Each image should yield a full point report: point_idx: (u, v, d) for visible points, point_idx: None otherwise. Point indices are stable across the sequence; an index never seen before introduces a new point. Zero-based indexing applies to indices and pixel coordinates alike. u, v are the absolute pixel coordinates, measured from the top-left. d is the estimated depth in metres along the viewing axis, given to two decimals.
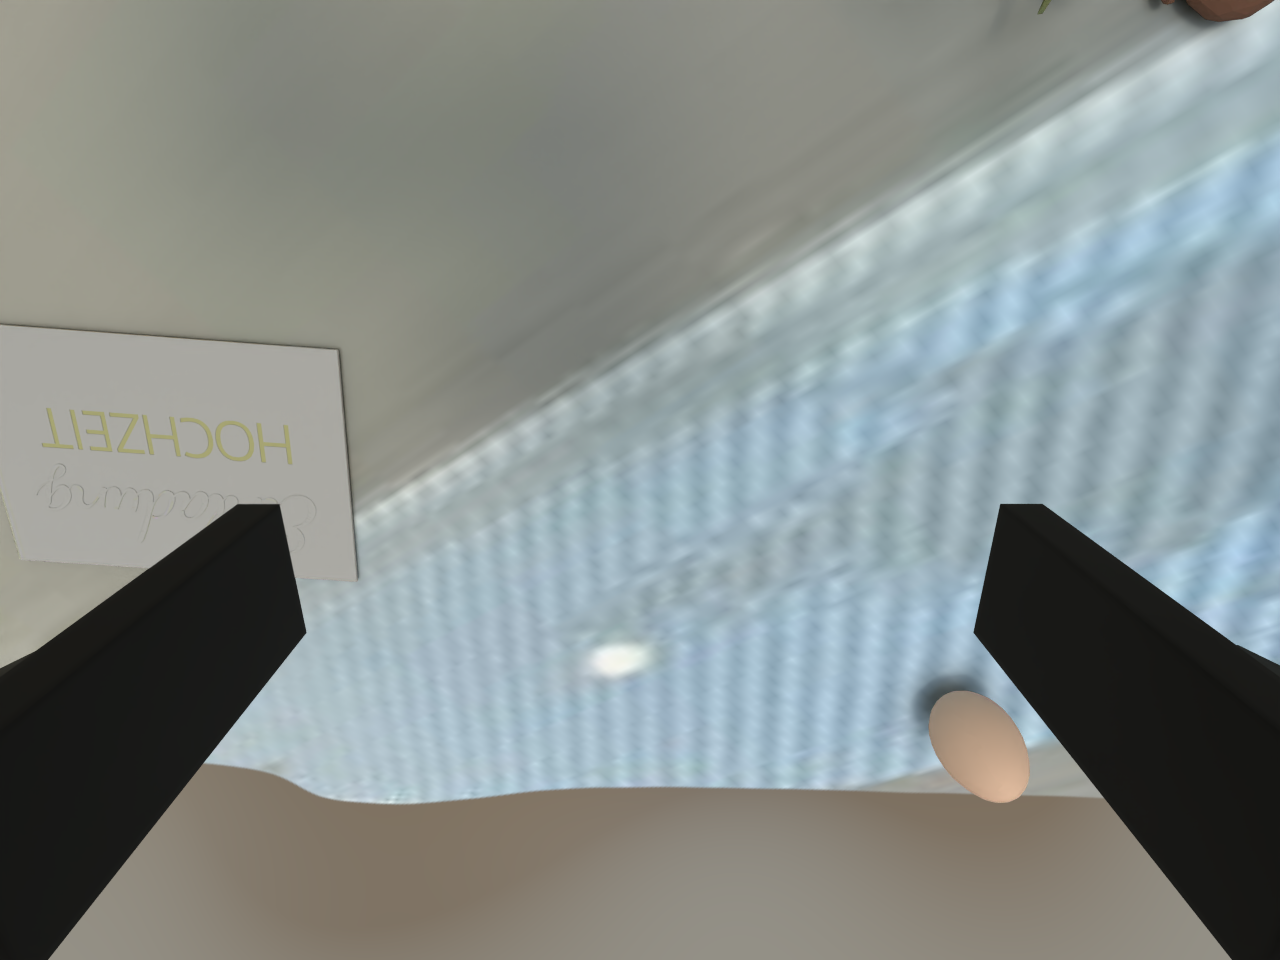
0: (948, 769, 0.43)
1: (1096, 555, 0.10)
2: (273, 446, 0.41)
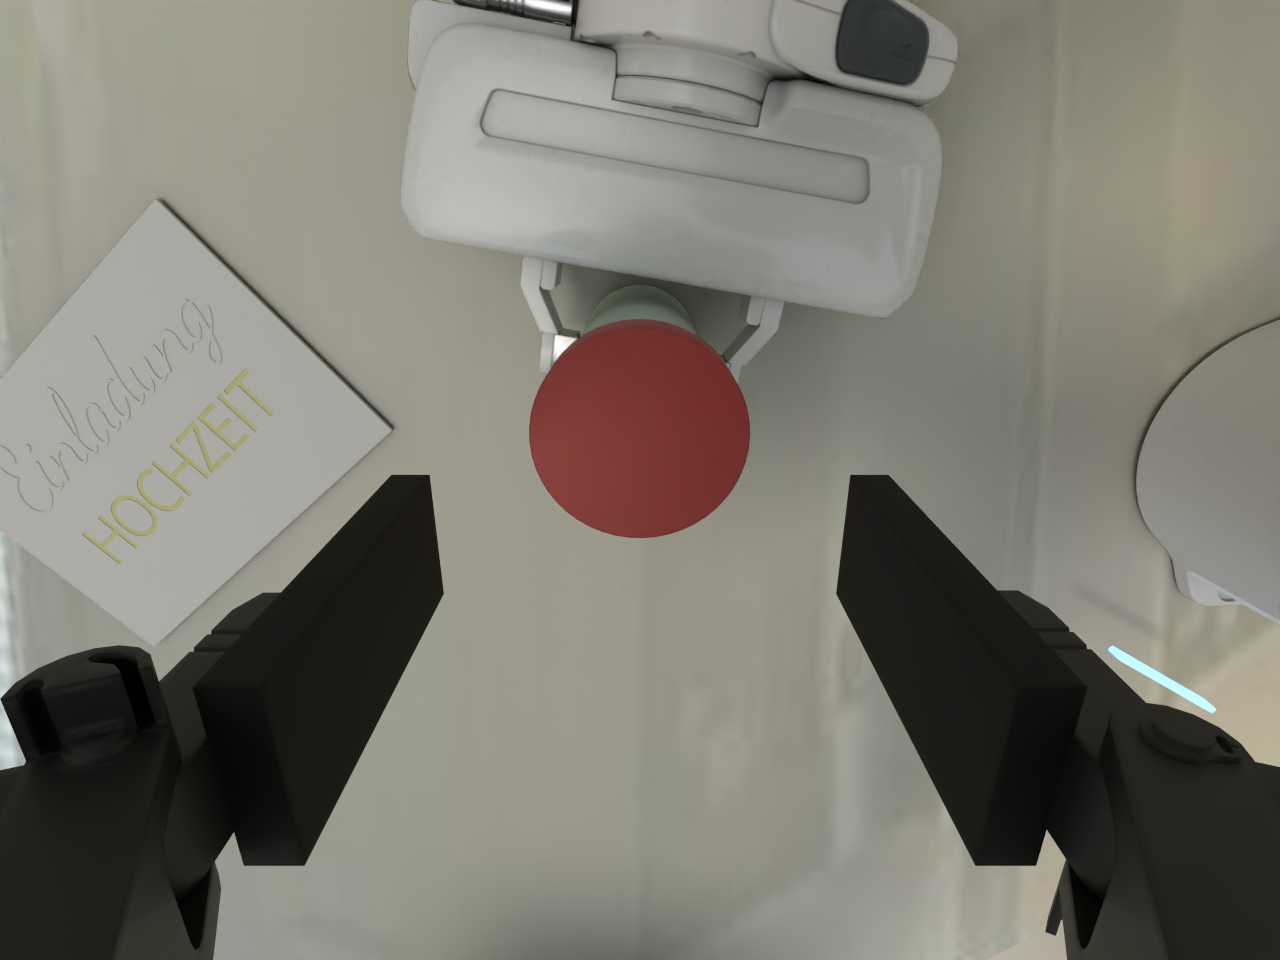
0: None
1: (911, 515, 0.12)
2: (109, 536, 0.39)
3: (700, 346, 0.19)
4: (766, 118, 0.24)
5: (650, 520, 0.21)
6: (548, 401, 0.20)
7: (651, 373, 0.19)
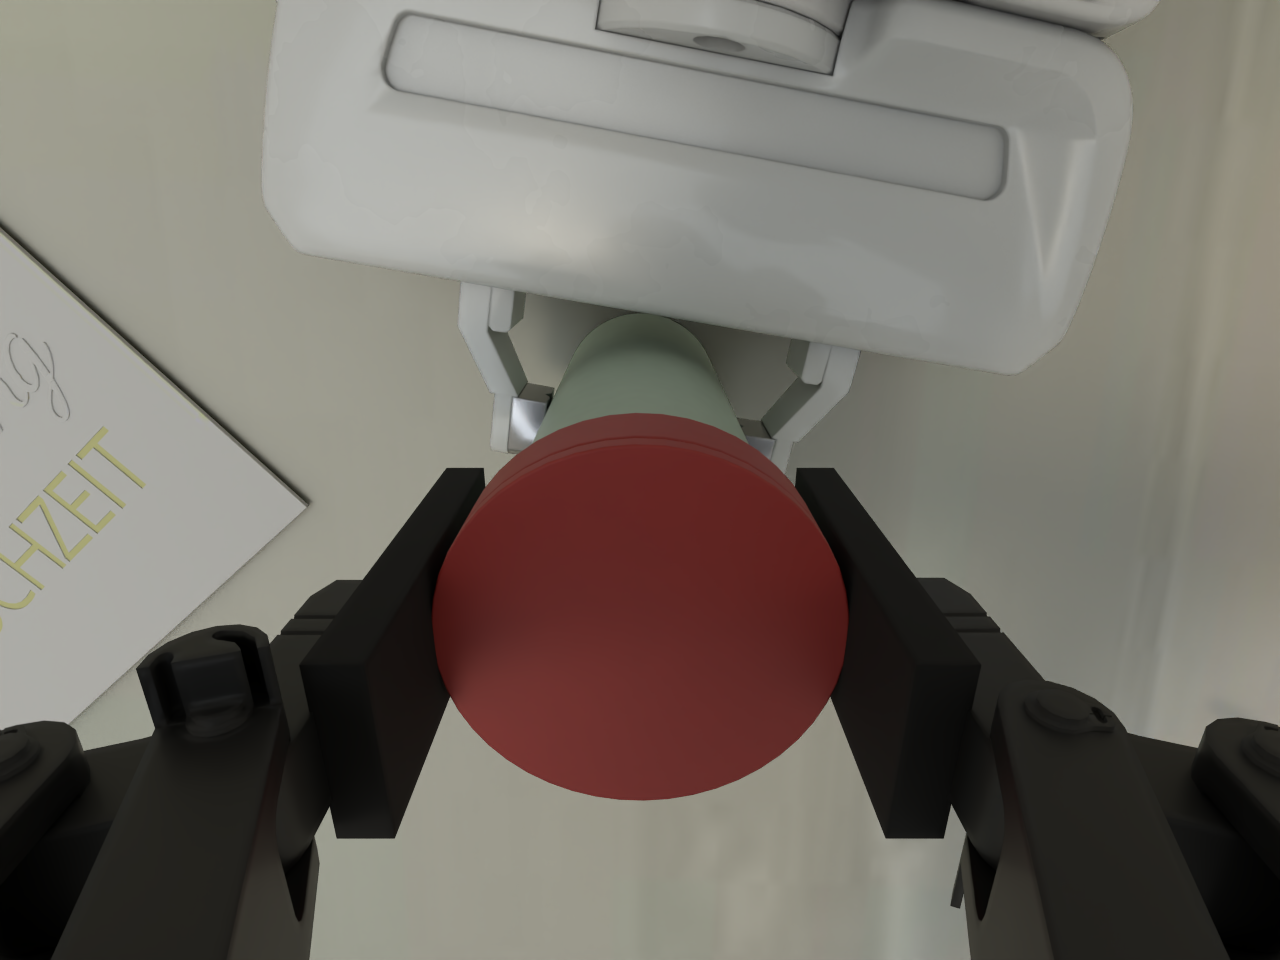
0: None
1: (848, 506, 0.12)
2: None
3: (760, 480, 0.10)
4: (847, 61, 0.15)
5: (659, 774, 0.12)
6: (465, 578, 0.10)
7: (663, 529, 0.10)
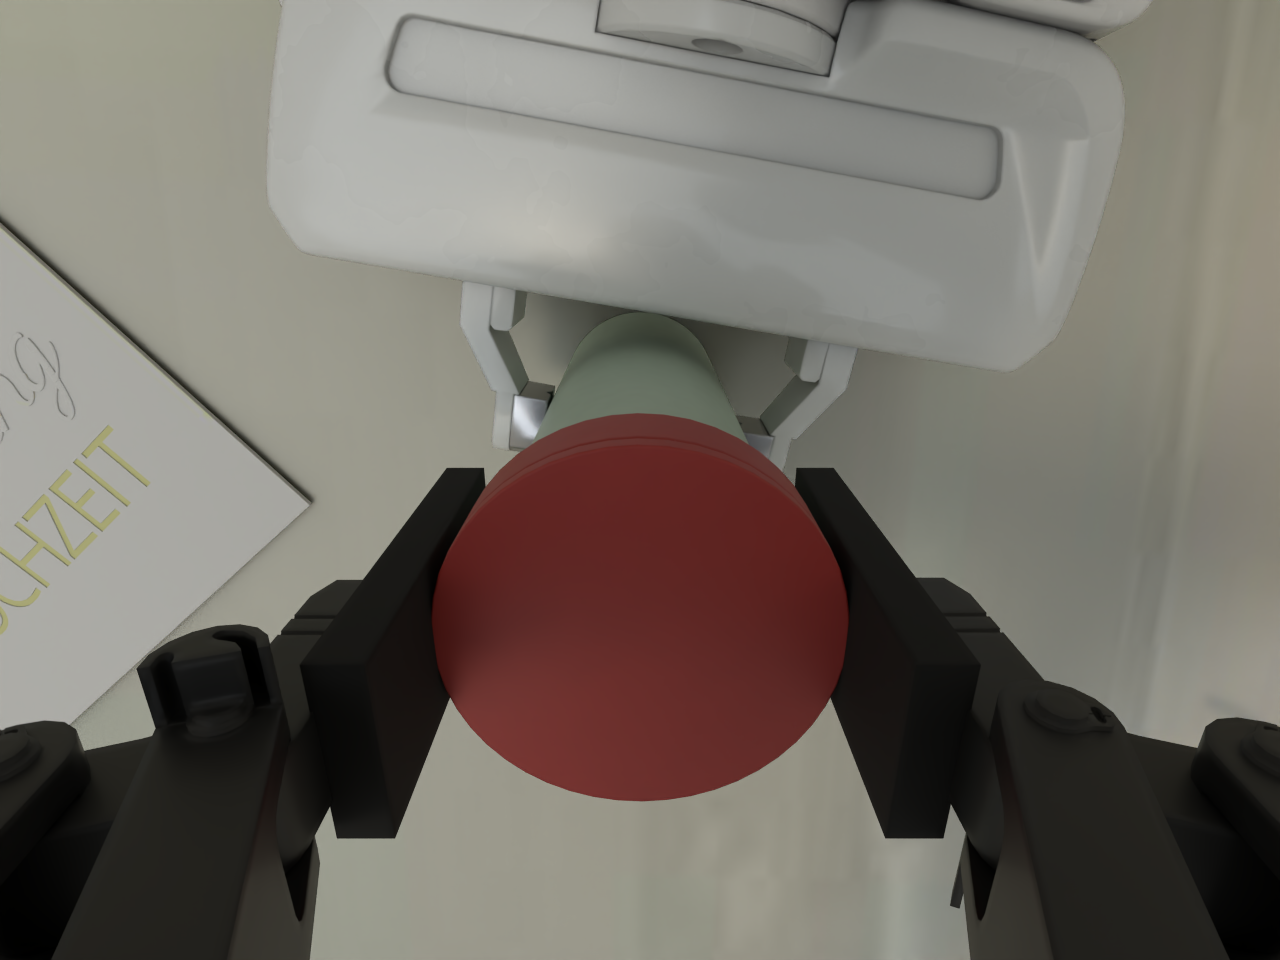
0: None
1: (847, 506, 0.12)
2: None
3: (489, 502, 0.10)
4: (843, 62, 0.15)
5: (806, 664, 0.11)
6: (532, 755, 0.11)
7: (521, 595, 0.10)
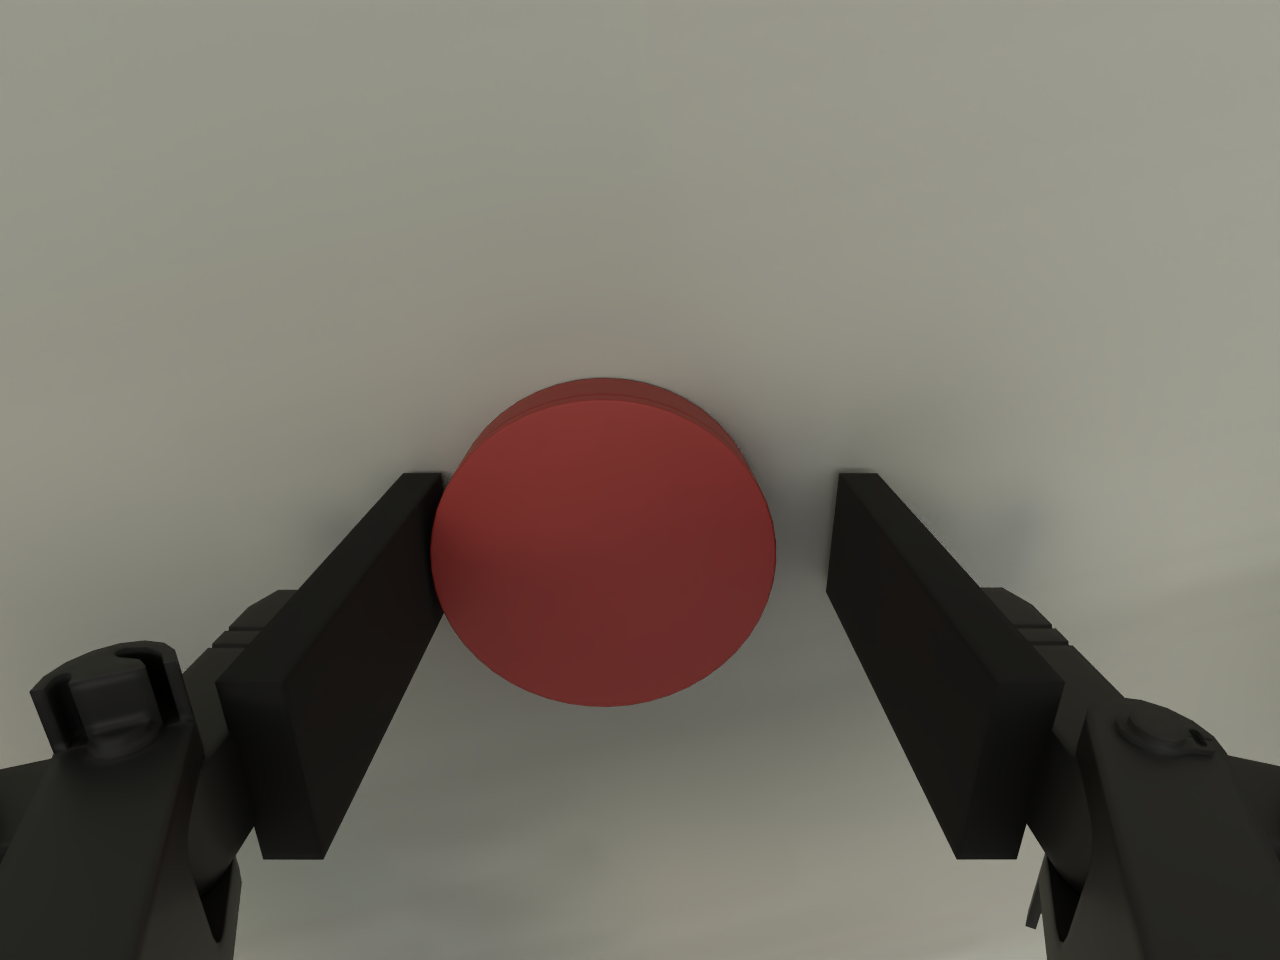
0: None
1: (898, 513, 0.12)
2: None
3: (478, 448, 0.12)
4: None
5: (742, 583, 0.13)
6: (516, 667, 0.14)
7: (505, 527, 0.12)
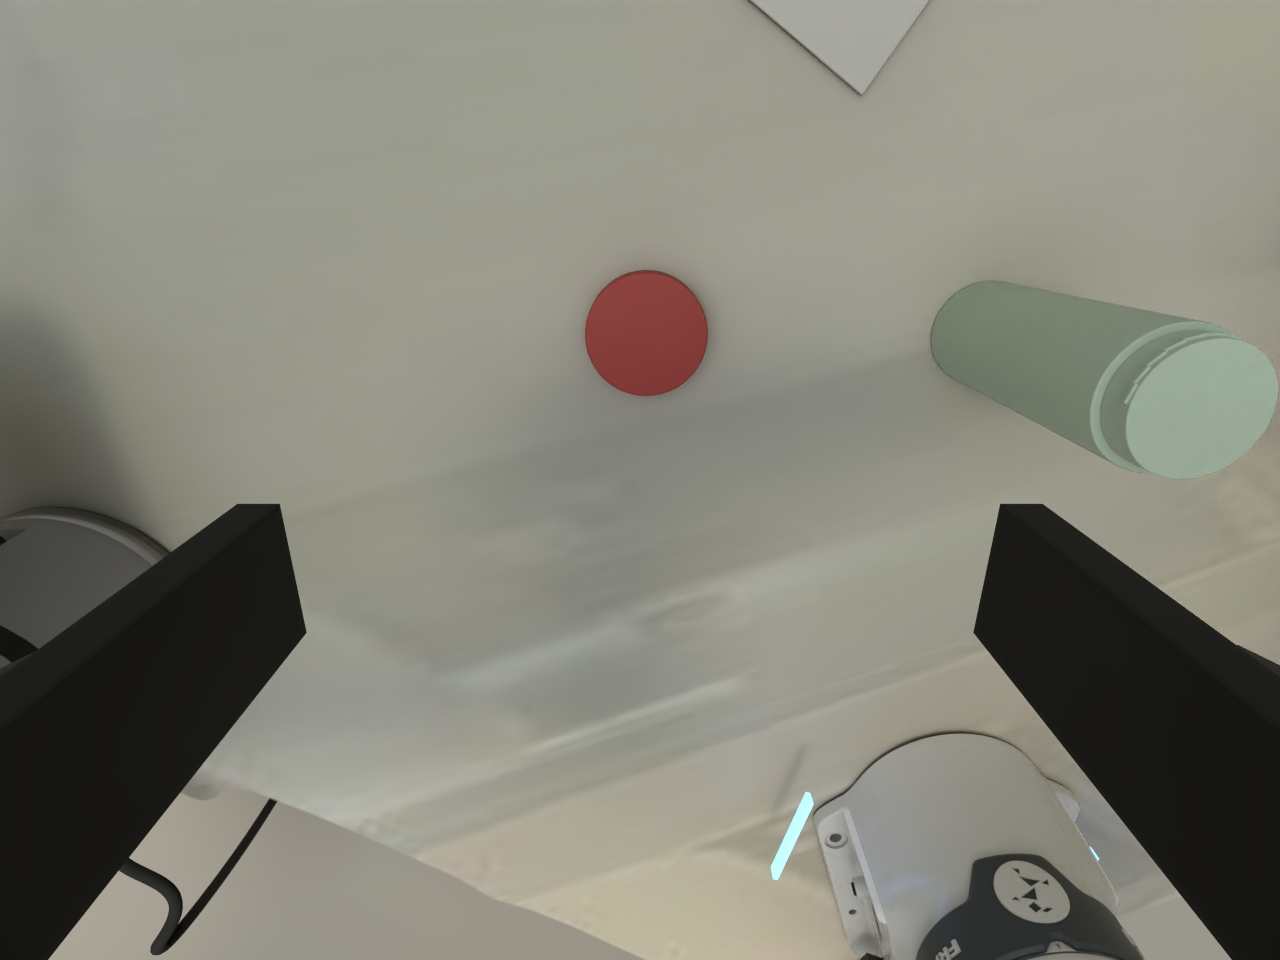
0: None
1: (1096, 555, 0.10)
2: None
3: (604, 290, 0.35)
4: None
5: (695, 343, 0.36)
6: (612, 377, 0.37)
7: (612, 320, 0.36)
